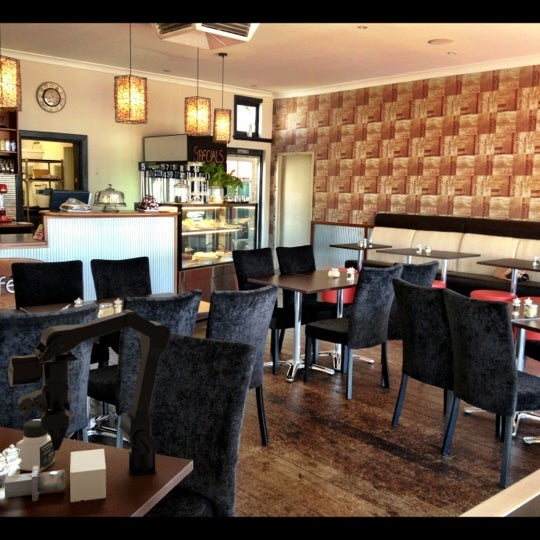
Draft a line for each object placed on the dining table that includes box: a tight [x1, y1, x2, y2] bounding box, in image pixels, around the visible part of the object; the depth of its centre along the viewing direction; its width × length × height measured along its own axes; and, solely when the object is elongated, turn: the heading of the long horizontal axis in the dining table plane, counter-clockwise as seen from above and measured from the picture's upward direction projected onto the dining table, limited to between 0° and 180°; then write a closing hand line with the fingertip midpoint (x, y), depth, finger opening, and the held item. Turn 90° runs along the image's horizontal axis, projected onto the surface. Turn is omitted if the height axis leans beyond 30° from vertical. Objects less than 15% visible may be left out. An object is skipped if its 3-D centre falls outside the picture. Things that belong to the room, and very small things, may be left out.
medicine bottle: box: [15, 418, 56, 473], centre depth 154 cm, size 7×7×12 cm
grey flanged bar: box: [4, 465, 66, 502], centre depth 138 cm, size 13×6×6 cm, turn 108°
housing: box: [69, 448, 107, 503], centre depth 142 cm, size 8×12×7 cm, turn 18°
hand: (57, 442), depth 140 cm, fingers open, 9 cm apart
